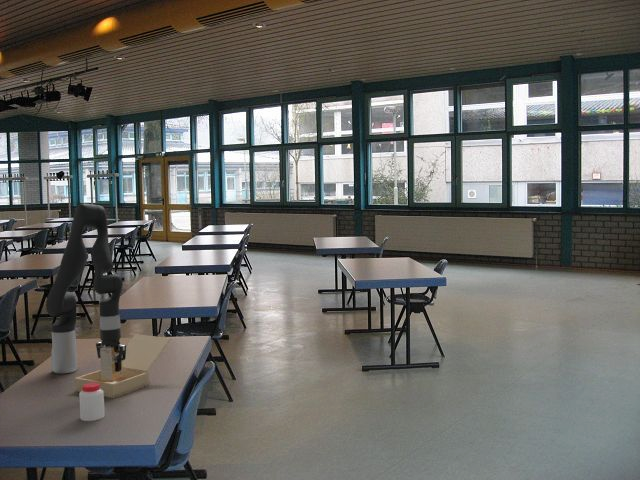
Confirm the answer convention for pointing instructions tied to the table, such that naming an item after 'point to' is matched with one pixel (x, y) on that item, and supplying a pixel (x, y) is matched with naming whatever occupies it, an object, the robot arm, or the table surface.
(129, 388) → the box
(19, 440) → the table surface
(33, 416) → the table surface
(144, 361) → the flap
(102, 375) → the supplement box
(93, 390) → the pill bottle
